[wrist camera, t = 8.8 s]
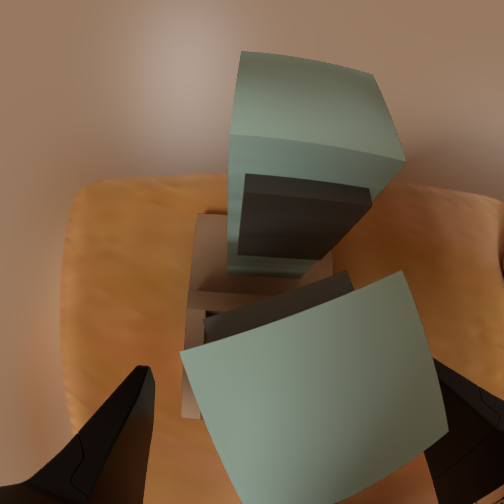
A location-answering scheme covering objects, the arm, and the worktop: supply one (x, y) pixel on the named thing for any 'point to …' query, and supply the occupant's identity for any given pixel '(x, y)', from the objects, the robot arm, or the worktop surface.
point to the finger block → (318, 390)
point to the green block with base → (288, 185)
